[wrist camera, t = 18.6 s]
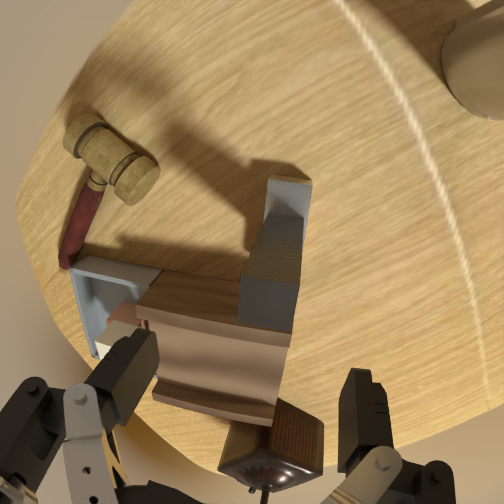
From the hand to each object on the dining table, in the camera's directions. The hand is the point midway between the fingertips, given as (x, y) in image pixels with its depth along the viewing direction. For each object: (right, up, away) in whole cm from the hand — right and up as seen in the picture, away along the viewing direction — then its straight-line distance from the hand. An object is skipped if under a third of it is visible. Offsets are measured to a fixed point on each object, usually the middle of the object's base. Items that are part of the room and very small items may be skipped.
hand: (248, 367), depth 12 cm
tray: (-15, -3, +25) cm, 29 cm away
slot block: (-3, -5, +23) cm, 24 cm away
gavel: (-18, +9, +20) cm, 29 cm away
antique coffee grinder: (+6, -22, +30) cm, 37 cm away
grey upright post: (+3, +7, +17) cm, 18 cm away
